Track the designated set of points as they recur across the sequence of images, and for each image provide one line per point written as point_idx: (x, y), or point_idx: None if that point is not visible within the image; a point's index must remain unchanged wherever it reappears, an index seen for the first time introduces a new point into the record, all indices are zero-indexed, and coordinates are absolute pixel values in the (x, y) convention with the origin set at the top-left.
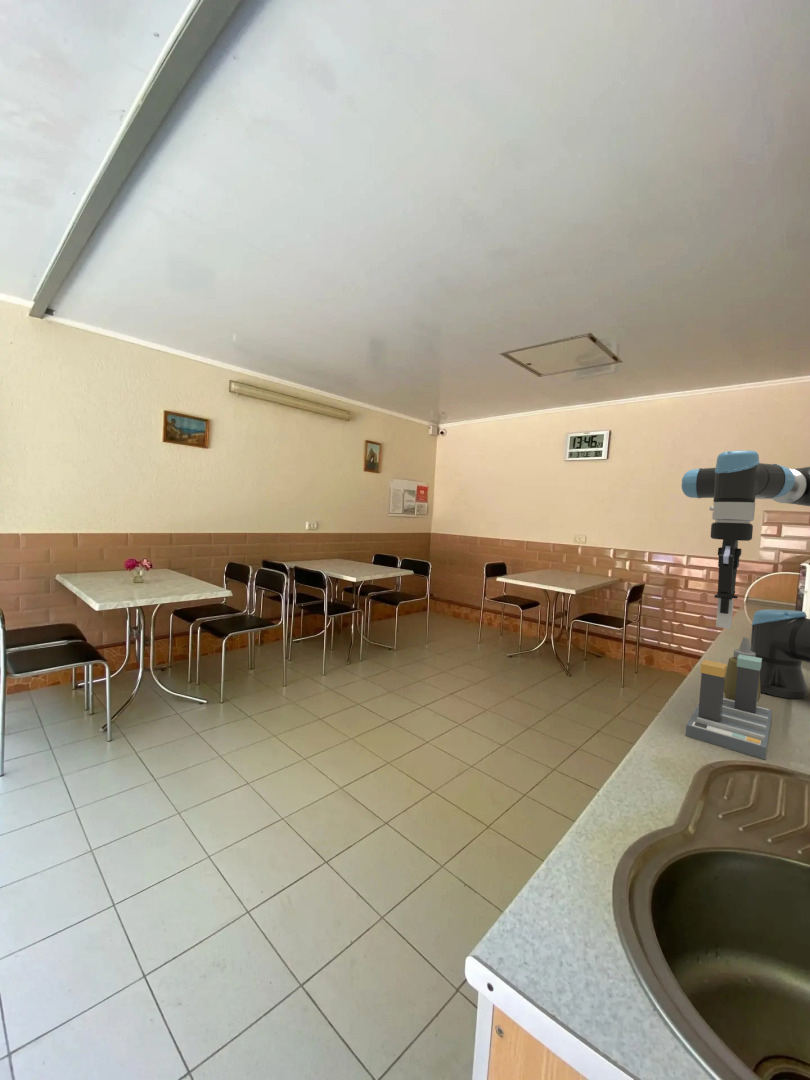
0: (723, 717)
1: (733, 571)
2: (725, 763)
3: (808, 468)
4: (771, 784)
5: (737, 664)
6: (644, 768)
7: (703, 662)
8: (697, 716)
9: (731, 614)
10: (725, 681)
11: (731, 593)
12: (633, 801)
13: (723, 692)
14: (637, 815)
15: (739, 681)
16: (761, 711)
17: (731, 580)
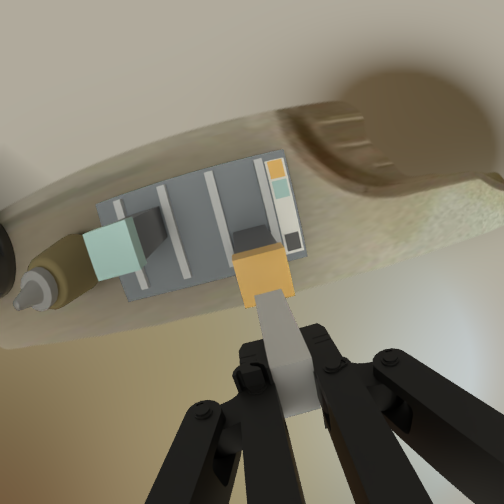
0: (228, 231)
1: (429, 498)
2: (342, 181)
3: None
4: (347, 128)
5: (145, 263)
6: (427, 237)
7: None
8: None
9: (292, 316)
10: (87, 289)
11: (396, 364)
12: (476, 214)
13: (235, 243)
14: (486, 203)
15: (151, 246)
16: (124, 209)
17: (482, 402)
